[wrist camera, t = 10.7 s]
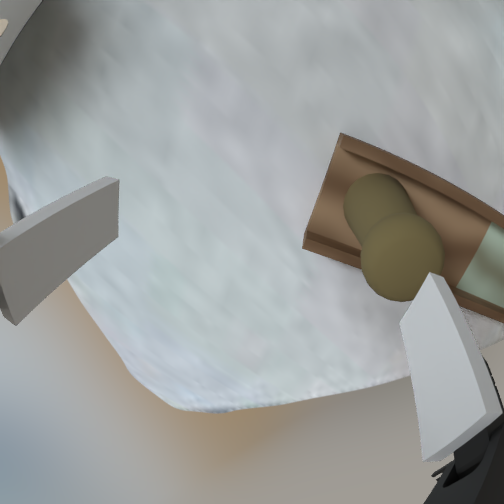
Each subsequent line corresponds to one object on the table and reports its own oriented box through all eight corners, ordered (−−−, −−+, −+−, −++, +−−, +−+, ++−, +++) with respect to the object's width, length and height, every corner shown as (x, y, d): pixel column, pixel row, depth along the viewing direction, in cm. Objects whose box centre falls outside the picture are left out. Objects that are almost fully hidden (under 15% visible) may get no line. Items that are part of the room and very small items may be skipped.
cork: (422, 202, 22) (476, 263, 13) (380, 251, 25) (406, 333, 16) (371, 158, 22) (408, 194, 12) (329, 213, 25) (333, 282, 15)
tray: (340, 132, 23) (345, 137, 19) (538, 240, 21) (561, 261, 17) (304, 233, 28) (300, 258, 23) (499, 309, 26) (514, 335, 22)
